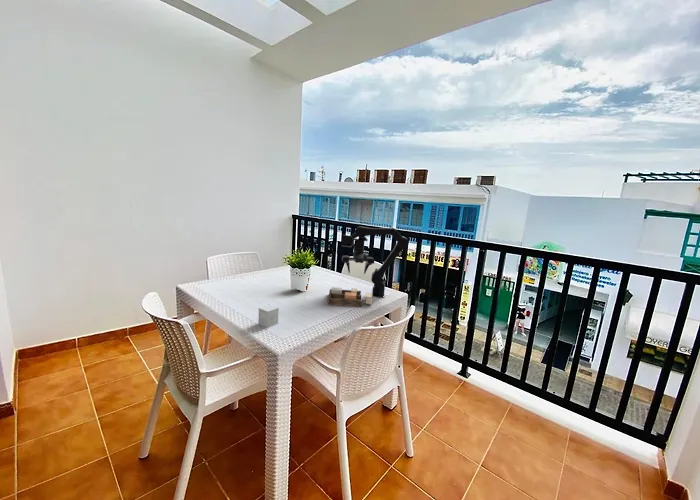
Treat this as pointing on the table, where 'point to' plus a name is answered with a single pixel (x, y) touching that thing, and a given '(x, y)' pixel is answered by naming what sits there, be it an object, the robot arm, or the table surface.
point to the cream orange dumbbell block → (353, 296)
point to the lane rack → (340, 299)
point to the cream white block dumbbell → (339, 290)
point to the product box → (268, 315)
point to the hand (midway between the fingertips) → (356, 273)
